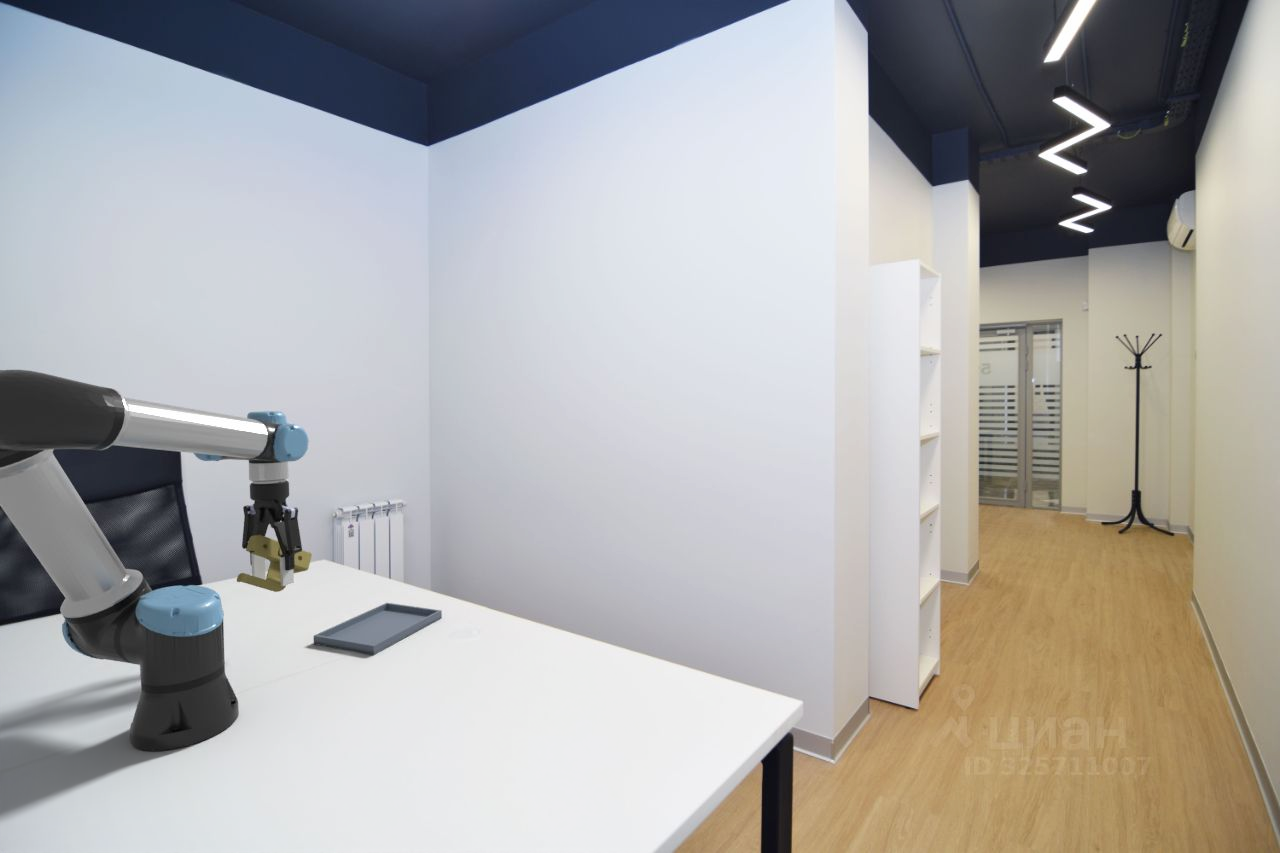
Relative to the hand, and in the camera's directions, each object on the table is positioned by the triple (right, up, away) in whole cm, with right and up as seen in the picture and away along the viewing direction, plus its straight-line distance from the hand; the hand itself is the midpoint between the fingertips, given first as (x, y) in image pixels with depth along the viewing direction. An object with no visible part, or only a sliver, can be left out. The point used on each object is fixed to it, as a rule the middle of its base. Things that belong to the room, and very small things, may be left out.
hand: (273, 582), depth 140 cm
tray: (+20, -14, +10) cm, 27 cm away
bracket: (-3, +3, 0) cm, 4 cm away
